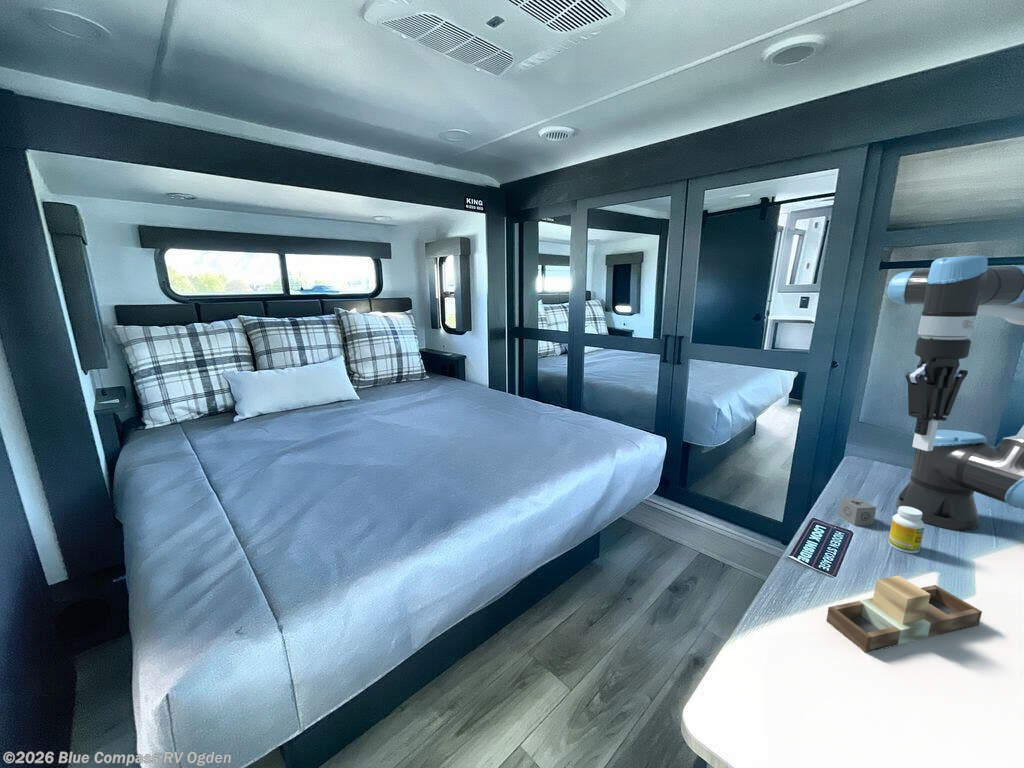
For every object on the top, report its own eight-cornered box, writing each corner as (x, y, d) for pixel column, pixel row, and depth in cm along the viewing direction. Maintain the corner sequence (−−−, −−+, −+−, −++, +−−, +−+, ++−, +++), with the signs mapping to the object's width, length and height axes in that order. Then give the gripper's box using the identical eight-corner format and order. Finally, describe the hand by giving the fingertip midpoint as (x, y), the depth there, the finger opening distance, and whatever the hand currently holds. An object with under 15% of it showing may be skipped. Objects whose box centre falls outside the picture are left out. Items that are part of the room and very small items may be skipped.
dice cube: (838, 515, 110) (841, 498, 109) (856, 514, 110) (859, 497, 109) (854, 525, 105) (857, 508, 104) (873, 524, 105) (876, 507, 104)
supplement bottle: (890, 537, 99) (897, 501, 97) (921, 547, 95) (928, 510, 93) (885, 546, 96) (892, 509, 94) (916, 557, 92) (924, 518, 90)
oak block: (893, 598, 76) (898, 575, 75) (925, 618, 71) (930, 594, 70) (872, 603, 75) (876, 579, 74) (902, 624, 70) (907, 599, 69)
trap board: (932, 598, 80) (935, 584, 79) (978, 625, 73) (982, 611, 73) (826, 621, 75) (828, 607, 75) (865, 652, 69) (868, 637, 68)
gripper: (941, 341, 76) (918, 458, 81) (993, 337, 79) (968, 451, 84) (896, 337, 83) (878, 445, 89) (946, 333, 86) (925, 439, 91)
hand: (922, 448), depth 86 cm, fingers closed
